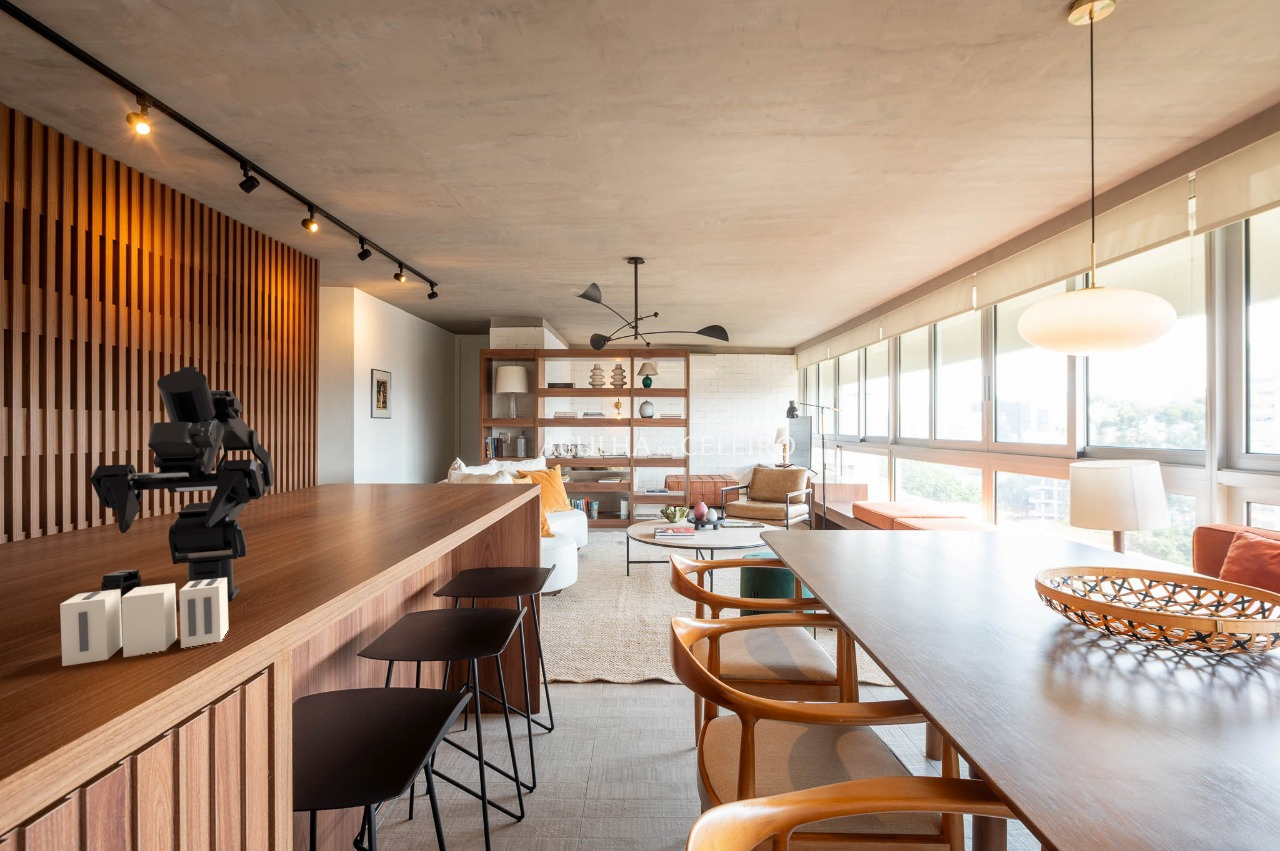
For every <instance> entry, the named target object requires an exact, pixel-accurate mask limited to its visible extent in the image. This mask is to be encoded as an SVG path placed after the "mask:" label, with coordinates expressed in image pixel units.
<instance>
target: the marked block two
mask: <svg viewBox="0 0 1280 851" xmlns="http://www.w3.org/2000/svg"><path fill="white" fill-rule="evenodd" d="M178 592H179V594H178V595H179V596H178V598H179V627H180V649H181V648H184V649H186V648H185V647H190V646H191V647H190V648H193V647H192V646H197V645H202V644H207V643H213V642H221V641H222V642H223V640H224V639H225V637H226V636H225V634H226V633H227V631H228V630H230V629H229V600H228V595H227V578H218V579H208V580H199V581H190V582H189V583H188V582H187V583H186V584H185V585H184V586H183V587H182V588H180V589H179V591H178ZM228 632H229V631H228ZM227 634H228V633H227ZM227 634H226V635H227ZM224 636H225V637H224ZM223 638H224V639H223ZM222 639H223V640H222ZM222 642H221V643H222ZM197 647H198V646H197Z"/></svg>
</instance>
